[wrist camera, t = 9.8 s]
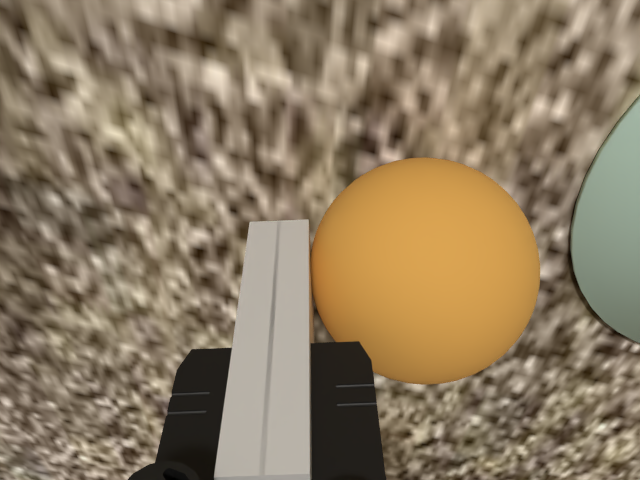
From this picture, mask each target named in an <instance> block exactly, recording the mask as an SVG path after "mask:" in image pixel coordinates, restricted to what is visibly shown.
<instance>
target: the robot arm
mask: <svg viewBox="0 0 640 480" xmlns="http://www.w3.org/2000/svg"><path fill="white" fill-rule="evenodd" d="M167 412H168V414H167V416H166V419H165V423H164V428H163V432H162V436H161V440H160V445H159V449H158V453H157V457H156V462H155V463H154V464H149V465H148V466H146V467H144V468H142V469H141V470H139V471H137V472H135V473H134V474H132V476H131V477H130V478H129V479H128V480H386V476H385V469H384V461H383V453H382V444H381V436H380V428H379V419H378V411H377V404H376V394H375V387H374V377H373V369H372V361H371V359H370V357H369V356H368V354H367V353H366V351H365V350H364V348H363V347H362V345H361V344H360V342H359V341H353V342H329V343H314V298H313V294H312V285H311V251H310V235H309V219H308V220H285V221H261V222H250V224H249V231H248V238H247V245H246V252H245V259H244V267H243V274H242V281H241V288H240V295H239V302H238V309H237V316H236V323H235V330H234V337H233V345H232V348H216V349H192V350H191V351H190V353H189V354H188V355H187V357H186V358H185V360H184V361H183V362H182V364H181V365H180V366H179V368H178V369H177V372H176V376H175V381H174V385H173V389H172V397H171V398H170V402H169V406H168V411H167Z"/></svg>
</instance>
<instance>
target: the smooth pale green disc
mask: <svg viewBox="0 0 640 480" xmlns="http://www.w3.org/2000/svg"><path fill="white" fill-rule="evenodd" d="M570 252H571V259H572V266H573V271H574V274H575V276H576V279H577V282H578V285H579V288H580V289H581V291H582V293H583V295H584V296H585V298H586V300H587V301H588V303H589V305H590V306H591V308H592V309H593V310H594V311H595V312H596V313H597V314H598V315H599V317H600V318H601V319H602V320H603V321H604V322H605V323H607V324H608V325H609V326H611V327H612V328H613V329H615V330H616V331H617V332H619V333H621V334H622V335H624V336H626V337H628V338H630V339H632V340H634V341H636V342H638V343H640V95H639V97H638V98H637V99H636V100H635V102H634V103H633V104H632V105H631V106H630V108H629V109H628V110H627V111H626V112H625V114H624V115H623V116H622V117H621V118H620V120H619V121H618V122H617V124H616V125H615V127H614V128H613V130H612V131H611V133H610V134H609V136H608V137H607V139H606V140H605V142H604V143H603V145H602V146H601V148H600V149H599V151H598V153H597V155H596V157H595V159H594V161H593V163H592V165H591V167H590V169H589V171H588V173H587V174H586V176H585V179H584V182H583V184H582V187H581V190H580V193H579V196H578V198H577V201H576V205H575V210H574V215H573V219H572V224H571V239H570Z"/></svg>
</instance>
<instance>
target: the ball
mask: <svg viewBox="0 0 640 480" xmlns="http://www.w3.org/2000/svg"><path fill="white" fill-rule="evenodd" d="M311 285H312V294H313V298H314V301H315V304H316V307H317V311H318V313H319V315H320V317H321V319H322V321H323V323H324V325H325V327H326V329H327V330H328V332H329V333H330V335H331V336H332V337H333V339H334V340H335V341H336V342H353V341H359V342H360V344H361V345H362V347H363V348H364V350H365V351H366V353H367V354H368V356H369V357H370V359H371V361H372V369H373V372H375V373H377V374H379V375H382V376H384V377H387V378H389V379H393V380H397V381H402V382H406V383H413V384H440V383H446V382H451V381H456V380H459V379H462V378H465V377H468V376H471V375H473V374H475V373H477V372H479V371H481V370H483V369H485V368H486V367H488V366H490V365H491V364H492V363H494V362H495V361H496V360H498V359H499V358H500V357H502V356H503V355H504V354H505V353H506V352H507V351H508V350H509V349H510V347H511V346H512V345H513V344H514V343H515V342H516V341H517V340H518V338H519V337H520V335H521V334H522V332H523V331H524V329H525V327H526V326H527V324H528V322H529V320H530V318H531V315H532V313H533V310H534V307H535V304H536V300H537V295H538V291H539V285H540V261H539V253H538V248H537V244H536V241H535V237H534V234H533V231H532V229H531V227H530V225H529V223H528V221H527V219H526V217H525V215H524V214H523V212H522V210H521V209H520V207H519V206H518V204H517V203H516V202H515V201H514V200H513V198H512V197H511V196H510V195H509V194H508V193H507V192H506V191H505V190H504V189H503V188H502V187H501V186H499V185H498V184H497V183H496V182H495V181H493V180H492V179H491V178H489V177H487V176H486V175H484V174H483V173H481V172H479V171H477V170H475V169H472V168H470V167H468V166H466V165H463V164H461V163H457V162H453V161H450V160H444V159H436V158H410V159H404V160H398V161H394V162H391V163H388V164H385V165H382V166H379V167H377V168H375V169H373V170H371V171H369V172H367V173H366V174H364V175H362V176H360V177H359V178H358V179H356V180H355V181H353V182H352V183H351V184H350V185H349V186H348V187H347V188H345V189H344V190H343V191H342V192H341V193H340V194H339V195H338V196H337V197H336V199H335V200H334V201H333V203H332V204H331V205H330V207H329V208H328V210H327V211H326V213H325V215H324V217H323V218H322V220H321V223H320V225H319V227H318V229H317V232H316V235H315V238H314V242H313V246H312V251H311Z"/></svg>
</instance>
